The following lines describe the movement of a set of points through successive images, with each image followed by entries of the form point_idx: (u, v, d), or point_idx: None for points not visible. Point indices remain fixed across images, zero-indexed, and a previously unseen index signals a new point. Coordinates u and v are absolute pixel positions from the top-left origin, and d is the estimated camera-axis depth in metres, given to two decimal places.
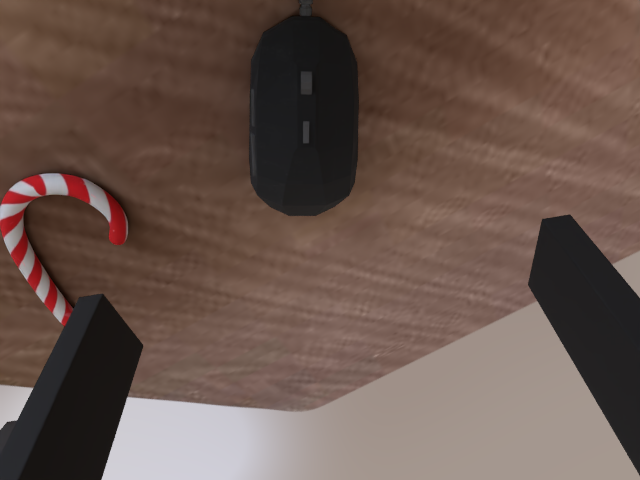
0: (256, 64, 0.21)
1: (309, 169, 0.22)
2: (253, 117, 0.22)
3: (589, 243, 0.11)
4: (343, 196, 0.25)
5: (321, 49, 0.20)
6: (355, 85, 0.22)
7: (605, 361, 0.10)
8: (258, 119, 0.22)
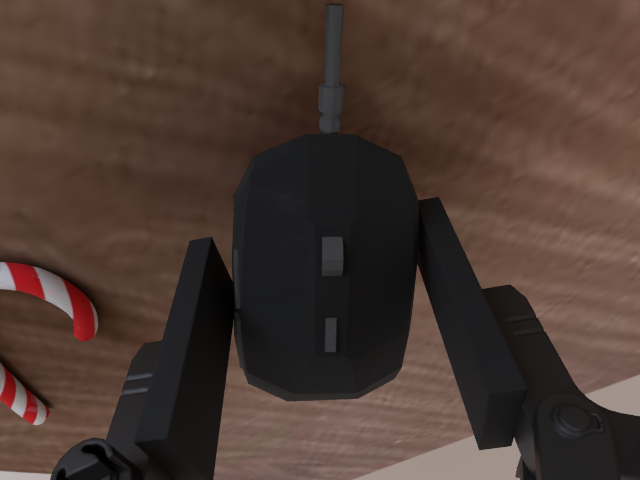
0: (241, 214, 0.12)
1: (334, 378, 0.13)
2: (237, 295, 0.13)
3: (448, 221, 0.12)
4: (385, 383, 0.16)
5: (359, 195, 0.11)
6: (416, 241, 0.12)
7: (446, 319, 0.11)
8: (245, 301, 0.12)
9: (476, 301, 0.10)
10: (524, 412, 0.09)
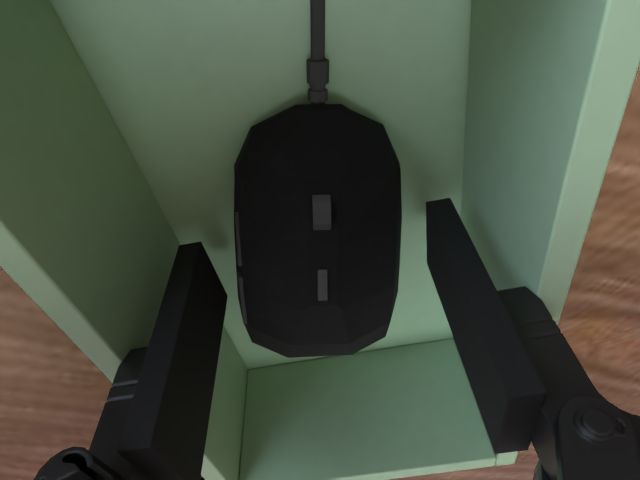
0: (240, 178, 0.13)
1: (328, 328, 0.14)
2: (239, 253, 0.14)
3: (460, 222, 0.12)
4: (377, 340, 0.17)
5: (344, 157, 0.12)
6: (398, 201, 0.14)
7: (460, 321, 0.11)
8: (246, 258, 0.14)
9: (492, 303, 0.10)
10: (543, 416, 0.08)
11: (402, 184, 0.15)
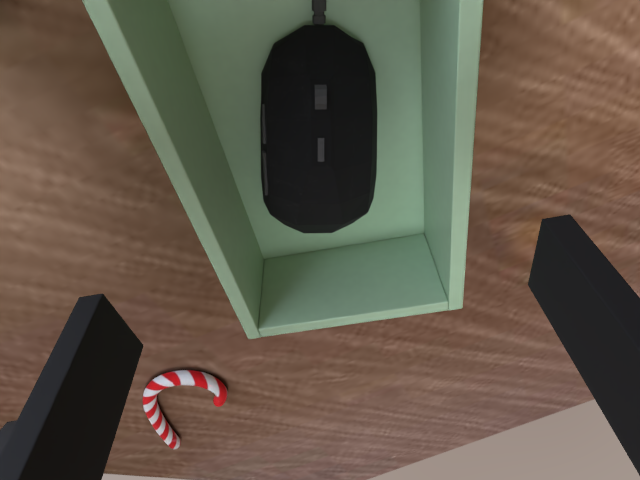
0: (266, 77, 0.19)
1: (324, 188, 0.21)
2: (264, 134, 0.20)
3: (590, 243, 0.11)
4: (361, 214, 0.23)
5: (336, 60, 0.19)
6: (373, 97, 0.20)
7: (605, 360, 0.10)
8: (269, 136, 0.20)
9: None
10: None
11: (379, 93, 0.22)
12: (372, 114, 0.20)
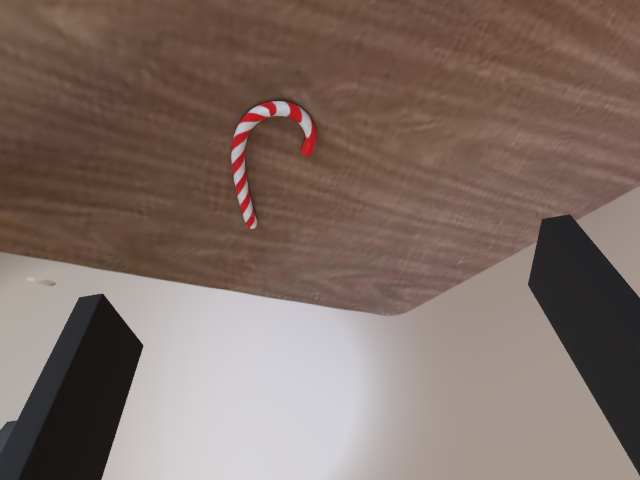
0: None
1: None
2: None
3: (590, 243, 0.11)
4: None
5: None
6: None
7: (605, 361, 0.10)
8: None
9: None
10: None
11: None
12: None
